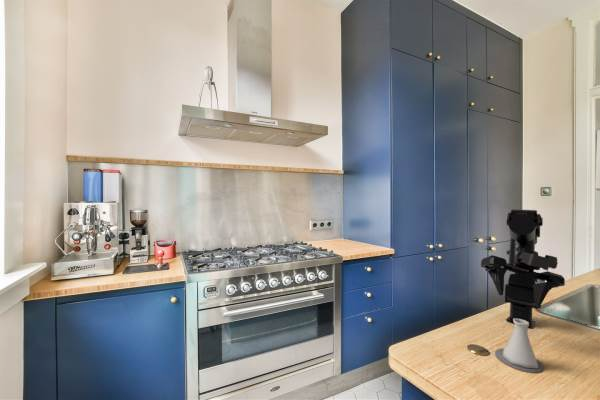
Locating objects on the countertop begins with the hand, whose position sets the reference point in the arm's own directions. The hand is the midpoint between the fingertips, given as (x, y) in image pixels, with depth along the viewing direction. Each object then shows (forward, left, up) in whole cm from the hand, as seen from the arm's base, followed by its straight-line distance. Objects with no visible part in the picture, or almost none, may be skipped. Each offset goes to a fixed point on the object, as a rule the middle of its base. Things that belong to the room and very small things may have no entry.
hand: (519, 301), depth 75 cm
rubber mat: (+8, +2, -13) cm, 15 cm away
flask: (+8, +2, -13) cm, 15 cm away
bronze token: (+11, -6, -13) cm, 18 cm away
